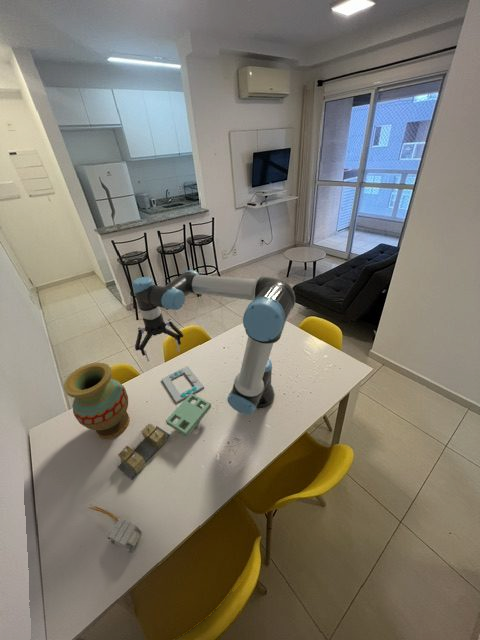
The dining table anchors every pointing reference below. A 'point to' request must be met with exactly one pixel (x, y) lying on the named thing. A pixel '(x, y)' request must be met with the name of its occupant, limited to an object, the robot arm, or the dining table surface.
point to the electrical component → (122, 532)
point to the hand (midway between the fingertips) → (163, 354)
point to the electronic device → (172, 388)
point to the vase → (98, 400)
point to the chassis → (142, 451)
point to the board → (188, 414)
